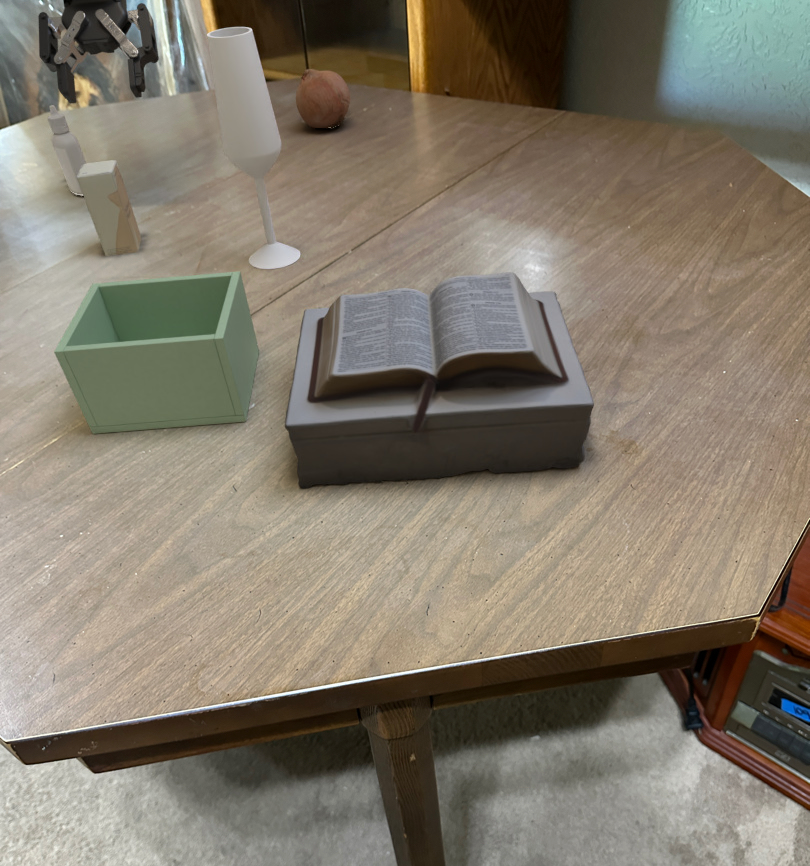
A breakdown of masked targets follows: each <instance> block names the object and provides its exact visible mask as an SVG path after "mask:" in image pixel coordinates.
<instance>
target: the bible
mask: <svg viewBox="0 0 810 866" xmlns="http://www.w3.org/2000/svg"><path fill="white" fill-rule="evenodd" d="M300 323H301V324H300V330H299V338H298V343H297V346H296V347H297V348H296V357H295V362H294V370H293V374H292V383H291V386H290V391H289V396H288V401H287V405H286V412H285V419H284V428H285V430H286V431H287V432H288V437H289V440H290V443H291V446H292V448H293V450H294V453H295V456H296V459H297V464H296V473H297V477H298V483H297V484H298V487H299V488H300V489H307V488H311V487H312V486H315V485H321V486H322V485H323V486H326V485H330V484H331V485H349V483H357V484H361V483H373V482H376V483H383V481H394V482H399V481H407V480H415V479H416V480H427V479H432V478H433V479H437V480H438V479H441V478H446V477H455V476H456V475H462V474H466V473H469V472H479V471H480V472H481V471H486V470H489V471H490V472H491V473H493V474H500V473H516V472H517V473H519V472H533V471H534V472H535V471H541V470H549V469H551V468H557V469H569V468H578V467H579V464H582V463H583V462H584V461H585V459H586V450H585V444H584V443H585V441H586V440H587V438H588V434H589V431H590V427H591V424H592V423H591V422H592V421H591V420H592V419H591V418H592V417H591V416H592V412H593V410H594V407H595V402H594V399H593V395H592V392H591V389H590V386H589V384H588V381H587V379H586V376H585V372H584V369H583V365H582V363H581V362H580V359H579V357H578V352H577V351H576V347H574V343H573V338H572V337H571V334H570V331H569V328H568V326H567V323H566V319H565V317H564V315H563V310H562V307H561V304H560V301H559V300H558V296H557V293H556V292H555V291H549V290H547V291H544V290H543V291H535V292H534V291H533V292H529V291H527V289H526V287H525V286H524V284H523V283H522V281H521V279H520V278H519V276H518V275H517V274H516V273H515V272H511V271H510V272H509V271H507V272H498V273H491V274H490V273H487V274H465V275H455V276H452V277H449V278H446V279H444V280H442V281H440V282H438V284H437V285H436V286H435V287H434V288H433V290H432V291H431V292H430V293H429V294H428V293H424V292H423V291H421V290H418V289H415V288H408V287H399V288H394V289H393V288H392V289H387V290H382V291H375V292H368V293H355V294H354V293H353V294H351V293H350V294H342V295H339V296H337V298H336V299H335V300H334V301H333V302H332V303H331V304H330V306H329V307H321V308H320V307H317V308H306V309H305V310H304V311H303V316H302V319H301V322H300Z"/></svg>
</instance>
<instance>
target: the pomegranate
mask: <svg viewBox="0 0 810 866" xmlns="http://www.w3.org/2000/svg"><path fill="white" fill-rule="evenodd" d="M350 103H351V94H350V89H349V87H348V85H347V83H346V81H345V80H344V79H343V77H342V76H341V75H340V74H339V73H337V72H335V71H333V70H328V69H327V70H317V69H315V68H307V69H304V72H303V73H302V76H301V77H300V81H299V84H298V86H297V89H296V91H295V105H296V108H297V111H298V114H299V116H300V117H301V119H302V120H303V122H305V124H307V125H308V126H309V127H310V128H313V129H315V128H326V129H328V127H331V128H333V127H335V126H338V125H340V124H341V125H342V123H343V122H344V121H345V119H346V116H347V113H348V111H349V107H350ZM341 125H340V126H341Z"/></svg>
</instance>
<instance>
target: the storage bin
mask: <svg viewBox="0 0 810 866" xmlns="http://www.w3.org/2000/svg"><path fill="white" fill-rule="evenodd" d="M249 306H250V305H249V301H248V297H247V294H246V288H245V285H244V280H243V276H242V273H241V271H240V270H238V271H227V272H217V273H216V272H215V273H203V274H202V273H201V274H192V275H191V274H190V275H179V276H167V277H155V278H145V279H131V280H119V281H108V282H95V283H91V285H90V287H89V288H88V290H87V293H86V294H85V296H84V298H83V300H82V301H81V302H80V305H79V306H78V308H77V310H76V312H75V314H74V316H73V317H72V319H71V321H70V322H69V324H68V326H67V328H66V330H65V331H64V333H63V334H62V337H61V339H60V340H59V342H58V344H57V346H56V347H55V348H54V351H53V353H54V355H55V357H56V359H57V361H58V363H59V366H60V368H61V370H62V372H63V374H64V376H65V378H66V381H67V382H68V385H69V387H70V389H71V391H72V393H73V396H74V398H75V400H76V403H77V404H78V406H79V408H80V410H81V412H82V413H81V414H83V417H84V418H85V421H86V423H87V425H88V427H89V429H90V432H91V433H92V435H96V434H108V433H120V432H122V433H123V432H133V431H145V430H158V429H159V430H160V429H168V428H169V429H171V428H183V427H184V428H185V427H195V426H208V425H218V424H219V425H220V424H234V423H244V422H247V418H248V413H249V407H250V402H251V398H252V397H251V395H252V391H253V386H254V382H255V381H254V380H255V376H256V370H257V364H258V359H259V354H260V347H259V343H258V339H257V335H256V331H255V326H254V322H253V318H252V314H251V310H250V307H249Z"/></svg>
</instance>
